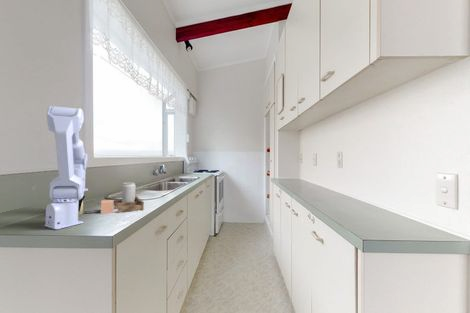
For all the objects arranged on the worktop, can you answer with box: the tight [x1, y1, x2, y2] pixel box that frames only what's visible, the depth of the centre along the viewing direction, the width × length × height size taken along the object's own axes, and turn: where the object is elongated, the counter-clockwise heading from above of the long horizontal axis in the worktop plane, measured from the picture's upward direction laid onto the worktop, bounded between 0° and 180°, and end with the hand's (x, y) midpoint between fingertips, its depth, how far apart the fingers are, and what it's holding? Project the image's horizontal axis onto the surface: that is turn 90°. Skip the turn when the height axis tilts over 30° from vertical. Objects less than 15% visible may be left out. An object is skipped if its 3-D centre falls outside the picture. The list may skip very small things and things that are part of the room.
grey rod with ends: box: [78, 199, 115, 216], centre depth 104 cm, size 15×5×6 cm, turn 120°
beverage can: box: [121, 182, 137, 203], centre depth 120 cm, size 6×6×12 cm
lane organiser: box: [112, 195, 145, 213], centre depth 116 cm, size 11×18×4 cm, turn 35°
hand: (76, 210), depth 101 cm, fingers open, 7 cm apart
